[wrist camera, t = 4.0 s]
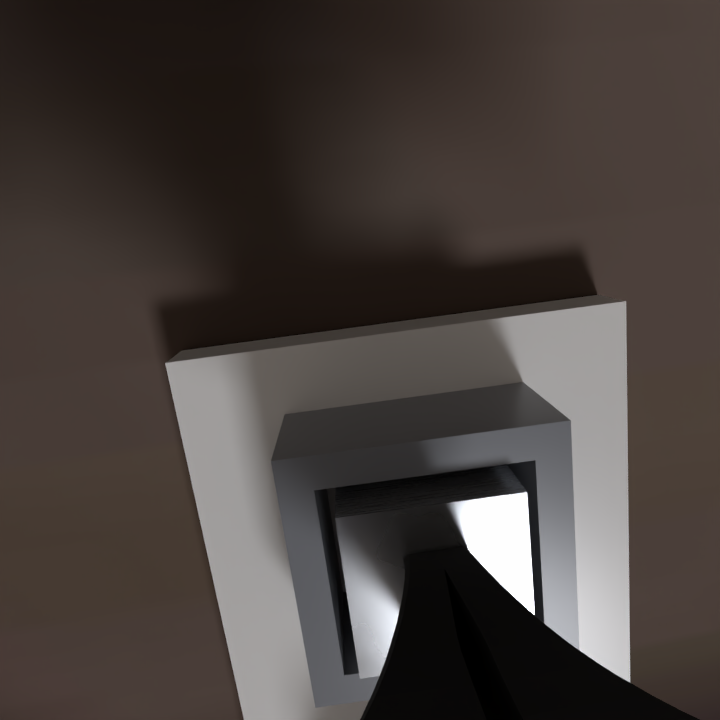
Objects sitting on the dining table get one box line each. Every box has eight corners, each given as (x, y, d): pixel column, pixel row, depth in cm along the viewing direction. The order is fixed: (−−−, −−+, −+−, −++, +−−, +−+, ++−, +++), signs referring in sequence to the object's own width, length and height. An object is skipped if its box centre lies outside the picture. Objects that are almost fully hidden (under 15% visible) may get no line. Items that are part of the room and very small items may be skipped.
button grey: (492, 560, 15) (536, 653, 12) (354, 579, 15) (360, 678, 12) (482, 431, 14) (527, 492, 11) (335, 450, 14) (335, 518, 11)
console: (611, 865, 20) (686, 1037, 16) (300, 909, 20) (290, 1096, 16) (598, 294, 15) (702, 318, 11) (181, 350, 15) (118, 398, 11)
